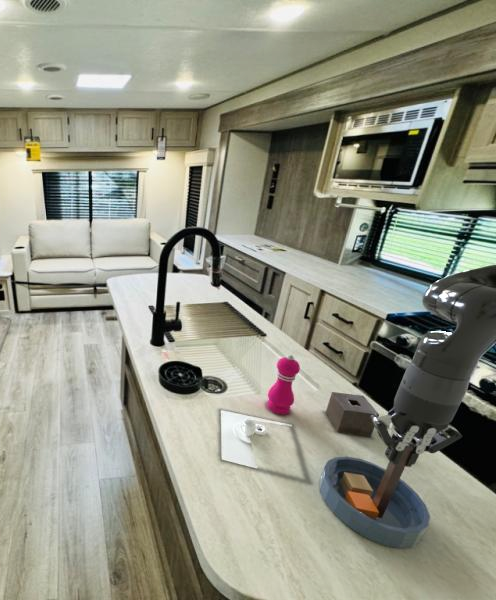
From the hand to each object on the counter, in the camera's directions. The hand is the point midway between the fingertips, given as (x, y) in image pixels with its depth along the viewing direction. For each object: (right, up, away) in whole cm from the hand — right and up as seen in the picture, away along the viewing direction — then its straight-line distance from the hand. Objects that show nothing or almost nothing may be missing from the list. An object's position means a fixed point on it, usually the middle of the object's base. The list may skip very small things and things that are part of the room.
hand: (398, 461), depth 61 cm
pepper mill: (-1, -3, +39) cm, 39 cm away
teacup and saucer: (-13, -8, +27) cm, 31 cm away
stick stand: (+16, -5, +32) cm, 36 cm away
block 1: (0, -13, +11) cm, 17 cm away
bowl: (+1, -15, +9) cm, 17 cm away
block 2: (-2, -15, +7) cm, 17 cm away
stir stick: (0, -14, +5) cm, 15 cm away
